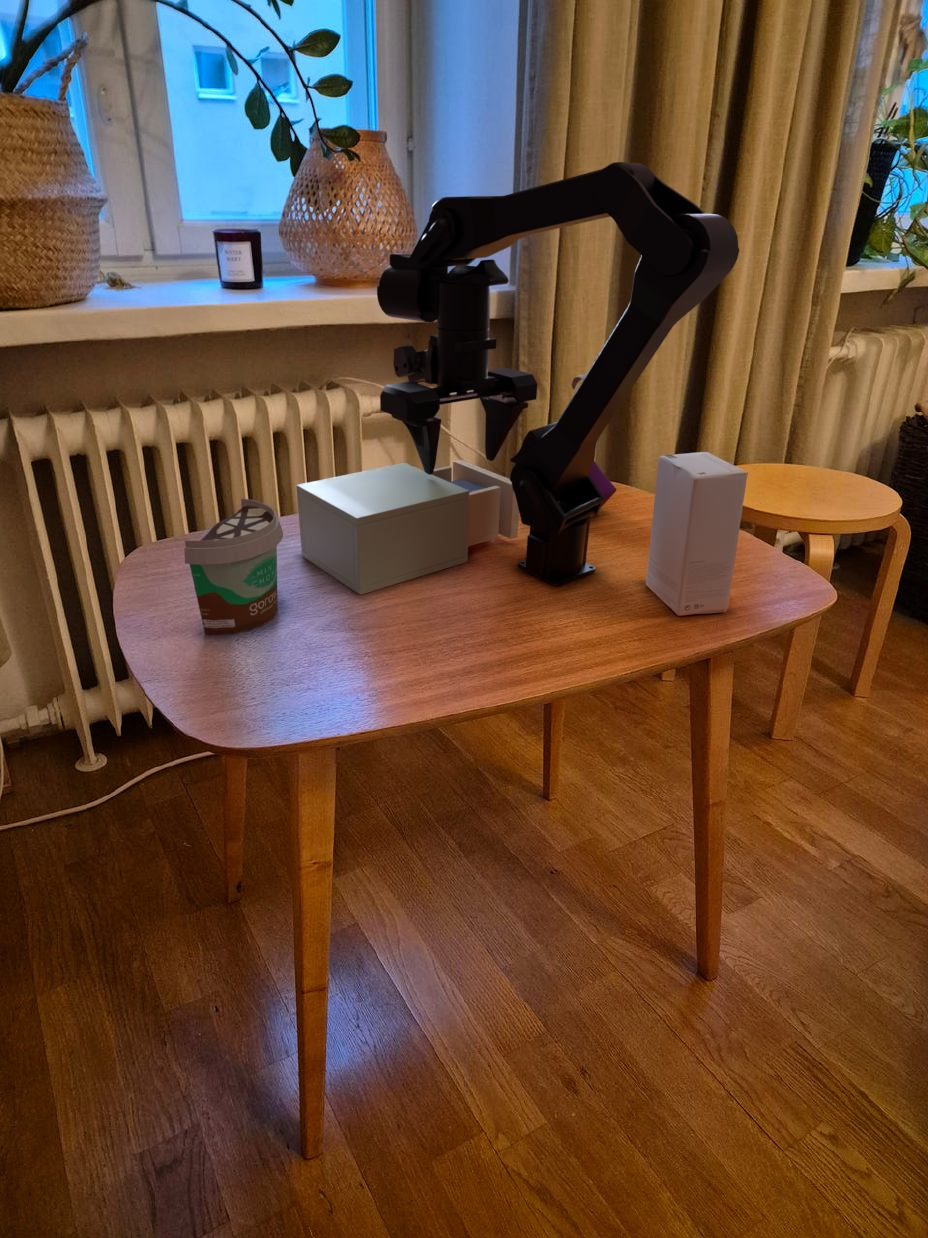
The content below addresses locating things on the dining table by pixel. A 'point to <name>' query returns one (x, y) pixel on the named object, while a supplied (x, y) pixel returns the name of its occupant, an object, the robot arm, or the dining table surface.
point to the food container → (237, 570)
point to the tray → (486, 502)
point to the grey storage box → (383, 525)
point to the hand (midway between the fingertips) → (460, 466)
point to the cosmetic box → (695, 531)
